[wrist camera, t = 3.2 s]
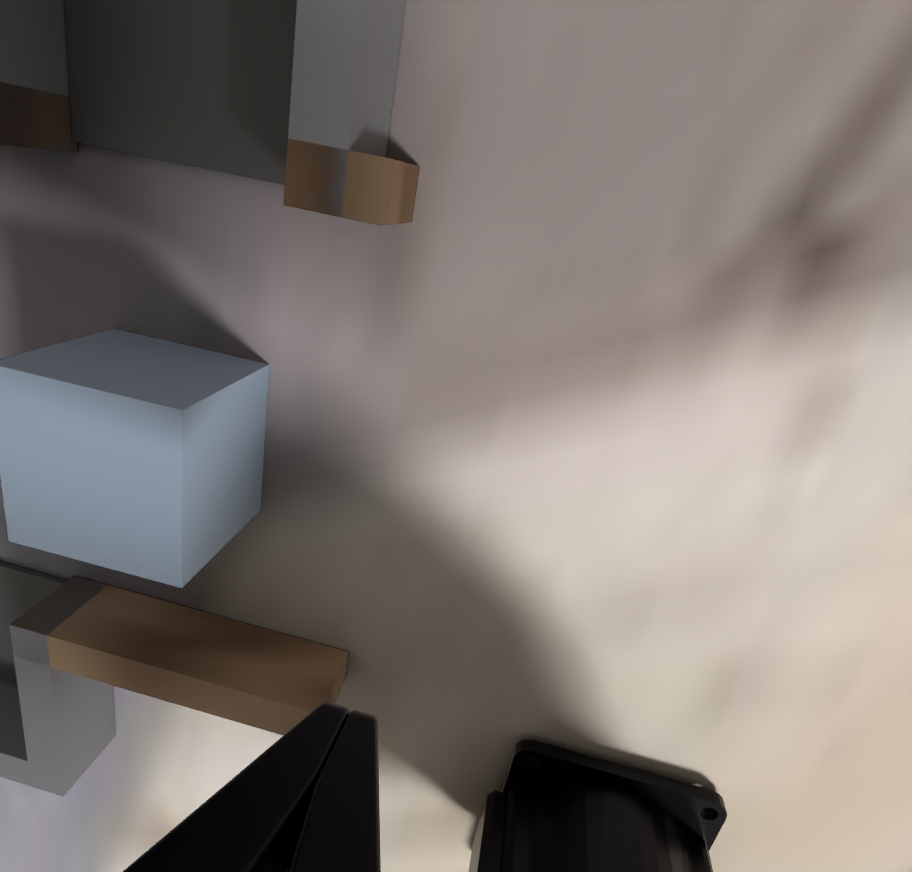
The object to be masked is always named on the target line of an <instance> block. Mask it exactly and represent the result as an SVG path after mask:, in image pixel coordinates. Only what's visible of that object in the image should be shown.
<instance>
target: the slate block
mask: <svg viewBox="0 0 912 872" xmlns="http://www.w3.org/2000/svg"><path fill="white" fill-rule="evenodd" d="M268 379H269V364H266V363H261V362H257V361H253V360H248V359H244V358H240V357H235V356H231V355H227V354H222V353H218V352H214V351H209V350H205V349H201V348H196V347H192V346H187V345H183V344H179V343H174V342H170V341H166V340H161V339H157V338H153V337H148V336H144V335H140V334H135V333H131V332H127V331H122V330H118V329H110V330H106V331H102V332H99V333H95V334H91V335H88V336H84V337H80V338H76V339H73V340H69V341H65V342H61V343H58V344H54V345H50V346H47V347H43V348H39V349H35V350H32V351H28V352H24V353H21V354H17V355H13V356H9V357H6V358H2V359H0V478H1V485H2V493H3V501H4V509H5V517H6V525H7V532H8V540H9V541H10V542H13V543H17V544H21V545H24V546H28V547H32V548H35V549H39V550H43V551H47V552H50V553H54V554H58V555H61V556H65V557H69V558H72V559H76V560H80V561H83V562H87V563H91V564H94V565H98V566H102V567H105V568H109V569H113V570H117V571H120V572H124V573H128V574H131V575H135V576H139V577H142V578H146V579H150V580H153V581H157V582H161V583H164V584H168V585H172V586H175V587H179V588H183V587H184V586H185V585H186V584H187V583H188V582H189V581H190V580H191V579H192V578H193V577H194V576H195V575H196V574H197V573H198V572H199V571H200V570H201V569H202V568H203V567H204V566H205V565H206V564H207V563H208V562H209V561H210V560H211V559H212V558H213V557H214V556H215V555H216V554H217V553H218V552H219V551H220V550H221V549H222V548H223V547H224V546H225V545H226V544H227V543H228V542H229V541H230V540H231V539H232V538H233V537H234V536H235V535H236V534H237V533H238V532H239V531H240V530H241V529H242V528H243V527H244V526H245V525H246V524H247V523H248V522H249V521H250V520H251V519H252V518H253V517H254V516H255V515H256V514H257V513H258V512H259V511H260V510H261V495H262V479H263V462H264V445H265V429H266V412H267V395H268Z"/></svg>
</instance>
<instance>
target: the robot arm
mask: <svg viewBox="0 0 912 872" xmlns="http://www.w3.org/2000/svg"><path fill="white" fill-rule="evenodd" d="M526 756H531V757H533V758H530V757H526ZM726 817H727V812H726V808H725V805H724V801H723V798H722V797H721V796H720V795H719V794H718V793H716V792H714V791H711V790H708V789H704V788H701V787H697V786H694V785H690V784H687V783H683V782H680V781H676V780H673V779H669V778H665V777H662V776H658V775H655V774H651V773H648V772H644V771H641V770H637V769H634V768H630V767H627V766H623V765H619V764H616V763H612V762H609V761H605V760H602V759H598V758H595V757H591V756H588V755H584V754H581V753H577V752H574V751H570V750H566V749H563V748H559V747H556V746H552V745H549V744H545V743H542V742H538V741H535V740H528V739H527V740H521V741H520V742H518V743H517V744H516V746H515V747H514V750H513V754H512V757H511V760H510V763H509V767H508V770H507V773H506V776H505V780H504V783H503V786H502V789H501V791H498V790H493V791H492V792H491V793H489V794H488V795H487V797H486V801H485V804H484V808H483V811H482V814H481V818H480V821H479V824H478V828H477V831H476V834H475V838H474V841H473V847H472V854H471V860H470V867H469V872H713V870H712V865H711V861H710V856H709V850H710V848H711V846H712V844H713V842H714V840H715V838H716V837H717V835H718V833H719V831H720V829H721V827H722V825H723V824H724V822H725V820H726ZM123 872H381V870H380V819H379V768H378V722H377V718H376V717H375V716H373V715H370V714H366V713H363V712H359V711H352V712H351V713H350V712H349V710H348V709H347V708H345V707H342V706H339V705H335V704H332V703H327V702H326V703H323V704H321V705H320V706H318V707H317V708H316V709H315V710H314V711H312V712H311V713H310V714H309V715H308V716H306V717H305V718H304V719H303V720H302V721H301V722H299V723H298V724H297V725H296V726H295V727H293V728H292V729H291V730H290V731H289V732H287V733H286V734H285V735H284V736H283V737H282V738H280V739H279V740H278V741H277V742H276V743H274V744H273V745H272V746H271V747H270V748H269V749H267V750H266V751H265V752H264V753H263V754H261V755H260V756H259V757H258V758H257V759H256V760H254V761H253V762H252V763H251V764H250V765H248V766H247V767H246V768H245V769H244V770H242V771H241V772H240V773H239V774H238V775H237V776H235V777H234V778H233V779H232V780H231V781H229V782H228V783H227V784H226V785H225V786H224V787H222V788H221V789H220V790H219V791H218V792H216V793H215V794H214V795H213V796H212V797H211V798H209V799H208V800H207V801H206V802H205V803H203V804H202V805H201V806H200V807H199V808H197V809H196V810H195V811H194V812H193V813H192V814H190V815H189V816H188V817H187V818H186V819H184V820H183V821H182V822H181V823H180V824H179V825H177V826H176V827H175V828H174V829H173V830H171V831H170V832H169V833H168V834H167V835H166V836H164V837H163V838H162V839H161V840H160V841H158V842H157V843H156V844H155V845H154V846H153V847H151V848H150V849H149V850H148V851H147V852H145V853H144V854H143V855H142V856H141V857H139V858H138V859H137V860H136V861H135V862H134V863H132V864H131V865H130V866H129V867H128V868H126V869H125V870H124V871H123Z"/></svg>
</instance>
